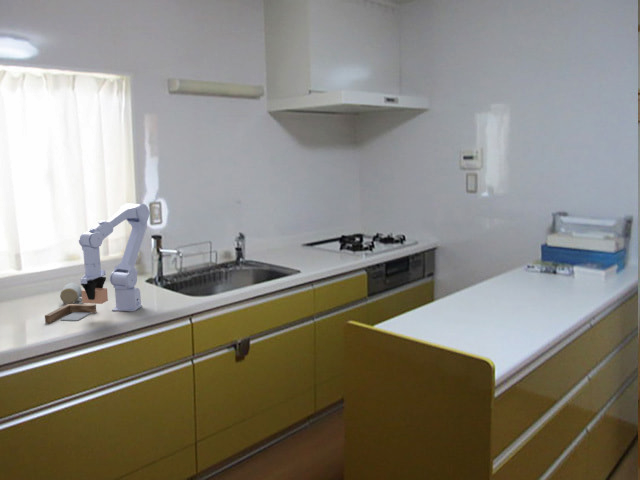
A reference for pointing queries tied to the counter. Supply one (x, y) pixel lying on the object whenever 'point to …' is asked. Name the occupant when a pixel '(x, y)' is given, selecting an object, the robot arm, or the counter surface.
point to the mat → (75, 316)
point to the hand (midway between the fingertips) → (95, 297)
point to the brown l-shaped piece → (67, 309)
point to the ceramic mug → (71, 293)
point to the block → (96, 296)
